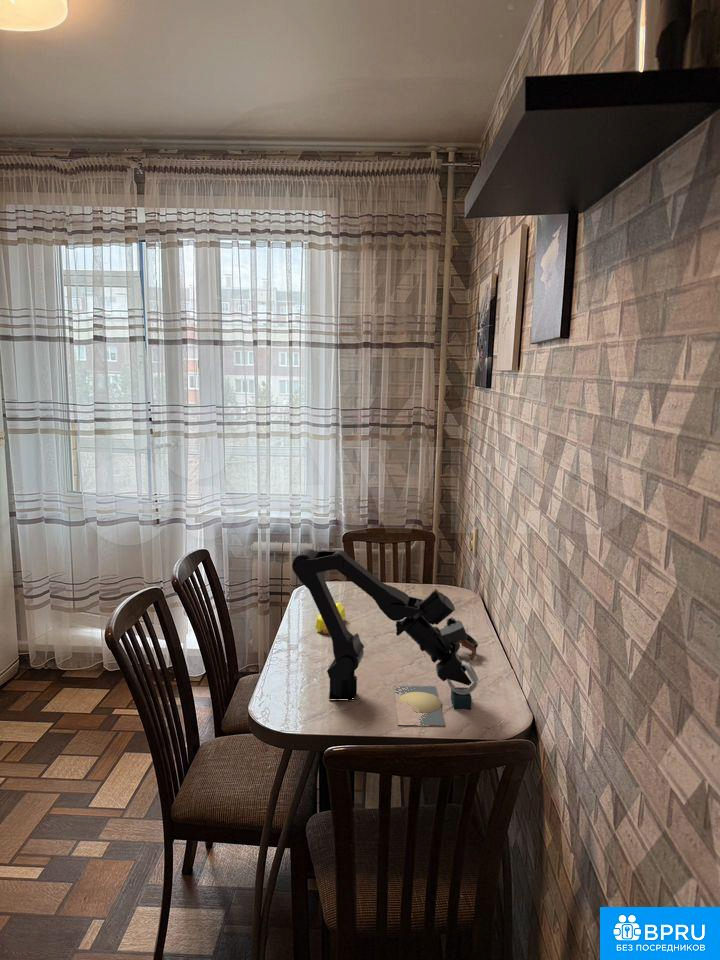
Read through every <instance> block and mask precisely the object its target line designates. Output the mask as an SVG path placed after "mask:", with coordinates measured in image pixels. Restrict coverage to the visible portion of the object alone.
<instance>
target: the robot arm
mask: <svg viewBox="0 0 720 960" xmlns="http://www.w3.org/2000/svg"><path fill="white" fill-rule="evenodd" d="M291 569H292V572H293V573H294V575H295V576H296V577H297V579H298V580H299V582H300V583H301V584H302V585H304V587H306V588H307V589H308V591H309V593H310V595H311V597H312V599H313V601H314V603H315V606H316V608H317V609H318V613H319V614H320V615H321V617H322V619H323V621H324V623H325V625H326V628H327V630H328V632H329V633H328V634H329V636H330V639H331V642H332V650H333V656H334V659H333V661H332V662H331V664H330V665H329V667H328V668H327V671H326V672H327V675H328V679H329V694H328V695H329V696H328V700H329V699H348V700H354V699H355V700H356V697H355V696H357V694H358V691H357V688H358V686H357V685H358V683H357V682H358V677H357V675H355V671H356V670H357V668H358V667H359V665H360V663H361V661H362V660H363V657H364V654H365V653H364V648H365V645H364V644H363V643H362V641H361V638H360V635H359V633H355V634H354V635H353V633H351V632H350V631H349V630H348V628H347V626H346V624H345V621H344V620H343V619H342V617H341V615H340V613H339V610H338V608H337V606H336V604H335V603H336V601H335V600H334V598H333V595H332V593H331V591H330V588H329V587H328V585H327V582H326V580H325V572H328V571H333V570H336V571H338V572H339V573H341V574H342V575H343V576H344V577H346V578H347V579H348V580H350V582H351V583H353V584H355V585H356V586H357V587H358V588H360V589H361V591H363V592H364V593H366V594H367V595H368V596H370V597H371V598H372V599H373V600H374V601H375V603H376V605H377V606H378V608H379V609H380V610H381V612H382V613H383V614H384V615H385V616H386V618H388V619H389V620H391V621H393V622H395V628H396V631H395V633H396V636H400V635H401V634H403V633H404V632H405V633H406V635H408V636H409V637H410V638H411V639H412V640H413V641H414V642H415V643H416V644H417V645H418V647H419V649H420V651H421V652H425V653H426V654H427V655H428V656H429V657H430V660H431V661H432V662H433V663H434V664H435V663H437V664H436V665H435V671H436V672H435V673H436V675H437V677H438V678H439V679H440V680H441V681H442V682H446V681H447V679H449V680H451V681H452V682H457V683H460V684H462V685H465V686H468V687H470V686H471V685H472V684H473V683H472V682H473V681H472V680H471V678H470V677H469V675H467V674H466V673H467V671H466V668H465V666H463V665H462V661H463V660H462V659H461V657H459V655H458V652H455V643H457V642H459V641H461V640H466V639H467V638H468V636H467V634H468V633H467V631H466V628H465V627H464V625H463V622H462V621H460V620H459V619H458V620H456V619H455V618H454V617H449V618H447V617H448V616H450V615H451V614H452V613H454V612H455V611H456V607H455V605H454V603H453V602H452V600H451V599H450V598H449V597H448V596H447V595H445V594H443V593H442V592H440V591H439V590H438V589H433V590H432V591H431V593H430V594H429V595H428V596H427V597H425V598H424V599H422V598H417V597H413V596H409V595H408V594H407V593H406V592H404V591H402V590H400V589H399V588H397V587H394V586H393V585H389V584H387V583H384V582H382V581H381V580H380V579H379V578H377V577H376V576H375V574H373V573H371V572H370V571H369V570H368V569H366V568H365V567H364V566H362V565H361V564H360V563H358V562H357V561H356V560H355V559H353V558H352V557H351V556H350V555H348V553H347V552H346V551H345V550H339V549H338V550H319V551H317V550H315V549H311V548H310V549H309V548H308V549H304V550H303V551H302V552H301V553H299V554H298V555H297V556H296V557H295V558H294V559H293V561H292V564H291ZM446 618H447V619H446ZM445 619H446V623H445V624H446V625H443V626H444V628H443V627H442V628H441V629H440V628H439V627H438V626H436V625H439V624H440V623H441V622H443V621H444V620H445ZM461 665H462V666H461ZM352 698H354V699H352ZM355 700H354V701H355Z"/></svg>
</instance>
